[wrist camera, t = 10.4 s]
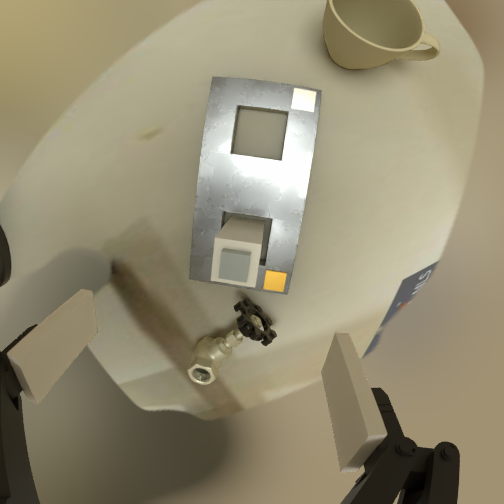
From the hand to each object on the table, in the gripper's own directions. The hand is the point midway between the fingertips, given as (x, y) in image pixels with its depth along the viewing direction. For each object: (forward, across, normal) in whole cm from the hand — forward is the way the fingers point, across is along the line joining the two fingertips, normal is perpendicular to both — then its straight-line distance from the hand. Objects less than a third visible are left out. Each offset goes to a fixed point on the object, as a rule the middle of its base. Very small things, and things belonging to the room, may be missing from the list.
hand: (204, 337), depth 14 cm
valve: (+22, 0, -14) cm, 26 cm away
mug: (+21, +11, +25) cm, 35 cm away
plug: (+21, 0, 0) cm, 21 cm away
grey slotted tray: (+21, +1, +6) cm, 22 cm away
